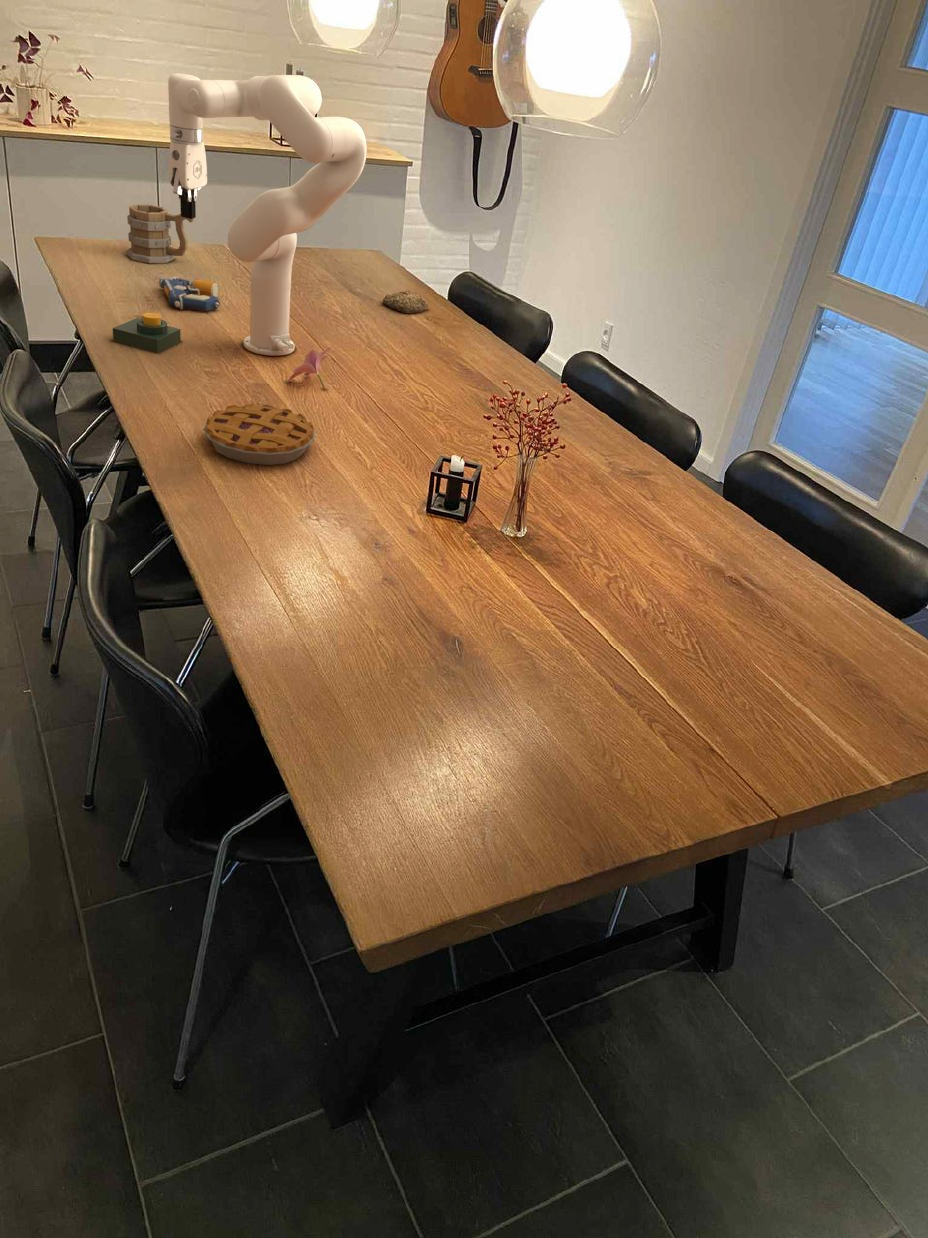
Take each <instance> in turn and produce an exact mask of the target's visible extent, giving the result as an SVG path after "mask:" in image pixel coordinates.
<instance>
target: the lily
mask: <svg viewBox="0 0 928 1238" xmlns="http://www.w3.org/2000/svg"><path fill="white" fill-rule="evenodd" d="M331 349H332V346H330V347H328V348H326V349H324V350H323V351H322V352H320V353H318V351H317V349H316V348H312V349H311V350H310V351H309V352H308V353H307V354H306V356H305V358H304V360H303V364H301V365H299V366H298V367H296V368H295V369H293V372H294V373H292V374H291V375H290V377H289V378H288V380H287V381H286V383H289V382H290V381H292V380H293V379H295V378H296V377H298V376H299V375H301V374H303V375H304V377H306V378H309V376H310V375H311V374H316V376H317V377H318V379H319V382H320V384H321V386H322V388H323V390H326V387H325V385H324V383H323V380H322V378H321V376H320V375H319V367H320V364H321V362H322V361H323V360H325V359H327V358H329V356H328V355H327V353H328V351H329V350H331Z"/></svg>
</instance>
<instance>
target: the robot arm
mask: <svg viewBox="0 0 928 1238" xmlns="http://www.w3.org/2000/svg"><path fill="white" fill-rule="evenodd" d="M167 88H168V89H167V90H168V118H169V119H168V121H169V125H168V126H169V127H168V128H169V141H170V143H169V153H168V154H169V155H168V179H169V184H170V185H171V187H172V188H173V189H172V192H173V194H175V195H178V200H179V202H180V205H179V207H180V214H181V216H182V217H185V218H189V219H193V218H194V219H195V218H196V217H197V215H196V214H197V213H196V211H197V210H196V209H197V208H196V201H197V199H198V192H199V191H200V190H202V188H203V187H205V186H206V185H207V183H208V167H207V155H206V148H205V143H204V119H216V118H254V119H255V120H258V121H269V123H270V124H271V125H272V126H273V128H274V129H275V130H276V131H277V132H278V134H279V135H280V136H281V137H282V138H283V139H284V141H285V142H286V144H288V145H289V147H290V148H291V149H292V150H293V151H294V152H295V153H296V154H297V156H299V157H300V158H301V159H302V160H304V161H307V162H309V163H313V164H315V165H314V166H313V167H311V168H310V169H309V170H308V171H306V173H305V174H304V175H303V176H302V177H300V179H299V180H297V181H296V183H294V184H293V185H290V186H287V187H281V188H273V189H268V190H266V191H263V192H261V194H259V195H258V196H257V197H255V198H254V200H253V201H251V203H250V204H249V205H247V207H246V208H245V209H244V210H243V211H242V212H241V213H240V214H239V215H238V216H237V217H236V218H235V219H234V220H233V222H232V223H231V225H230V227H229V229H228V232H227V245H228V249H229V251H230V253H231V254H232V256H233V257H235V258H236V259H237V260H238V261H241V262H244V263H252V267H251V273H250V306H249V307H250V309H249V310H250V312H249V313H250V315H249V316H250V318H249V321H250V322H249V336H246V337H244V339H243V347H244V348H245V349H246V350H248V351H249V352H251V353H254V354H258V355H262V356H263V355H264V356H271V357H272V356H273V357H275V356H276V357H278V356H286V355H290V354H291V353H294V352H295V348H296V347H295V346H296V345H295V342H293V340H291V334H290V317H291V316H290V314H291V313H290V312H291V288H292V273H293V264H294V257H295V254H296V248H297V244H298V243H297V241H298V234H297V233H301V232H305V231H307V230H309V229H310V228H311V227H312V226H313V225H314V224H316V223H317V221H319V220H320V218H322V217H323V216H324V215H325V214H326V213H327V212H328V211H329V210H330V209H331V208H332V207H333V206H334V205H335V204H336V203H337V202H338V201H339V199H341V198H342V197H343V196H344V195H345V194H346V193H347V192H348V191H349V190H351V188H352V187H353V186H354V185H355V183H356V182H357V181H358V180H359V178H360V176H361V175H362V172H363V170H364V168H365V165H366V159H367V152H368V151H367V150H368V148H367V140H366V139H367V138H366V136H365V133H364V130H363V129H362V127H361V125H359V124H358V123H357V121H355V120H353V119H351V118H348V117H345V116H319V117H318V116H316V117H315V115H316V114H317V113H318V112H319V111H320V109H321V106H322V101H323V99H322V98H323V97H322V93H321V89H320V87H319V86H318V84H317V83H316V81H314V80H312V79H311V78H310V77H308V76H305V75H300V74H274V75H254V76H252V77H251V78H250V79H239V80H238V79H235V80H234V79H200V78H199V77H198V76H195V75H192V74H187V73H171V74H170V75H169V77H168V79H167Z"/></svg>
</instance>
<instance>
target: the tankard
mask: <svg viewBox="0 0 928 1238" xmlns="http://www.w3.org/2000/svg"><path fill="white" fill-rule="evenodd" d="M128 210H129V214H128V215H127V216H126V217H127V218H126V219H127V224H128V225H129V228H130V229H129V230H130V231H129V232H128V233H127V235H128V236H127V237H128V242H129V243H130V246H131V247H129V248H128V249H126V256H128V257H129V258H130V259H131V260H132V261H135V262H140V263H144V264H168V263H170V262H171V261H173V260H175V257H183V256H185V254H186V252H187V250H188V248H189V247H188V245H189V244H188V238H187V235H186V232H185V227H184V226H185V225H184V221H185V220H187V222H189V224H190V223H193V222H194V220H195V218H193V219H189V218H185V217H182V216H181V213H178V214H172V213H169V211H168V210H167V209H166V208H164V207H163V206H160V205H153V204H134V205H130V206H129V207H128ZM171 222H174V223H175V232H176V234H177V237H178V240H179V247H178V248H175V247H173V246H172V237H171V236H170V234H169V233H170V232H169V229H171V228H172V225H171V224H172V223H171Z"/></svg>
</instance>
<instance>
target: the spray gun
mask: <svg viewBox="0 0 928 1238" xmlns="http://www.w3.org/2000/svg"><path fill="white" fill-rule="evenodd" d="M158 282H159V288H160V289H162V290H163V292H164V293H165V295H166V297H167V299H168V302H169V304H170V306H171V307H173V308H179V310H180V311H182V310H184V309H187V310H196V311H201V312H202V311H203V312H209V311H212V310H216V309H219V308H220V306H221V302H220V300H219V299H218V293H219V286H218V284H217V283H216V282H215V281H214V282H213V281H208V280H205V279H199V278H196V279H194V280H188V279H184V278H181V277H180V278H179V276H178V275H175V276H173V277H160V278H159V279H158Z"/></svg>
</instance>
